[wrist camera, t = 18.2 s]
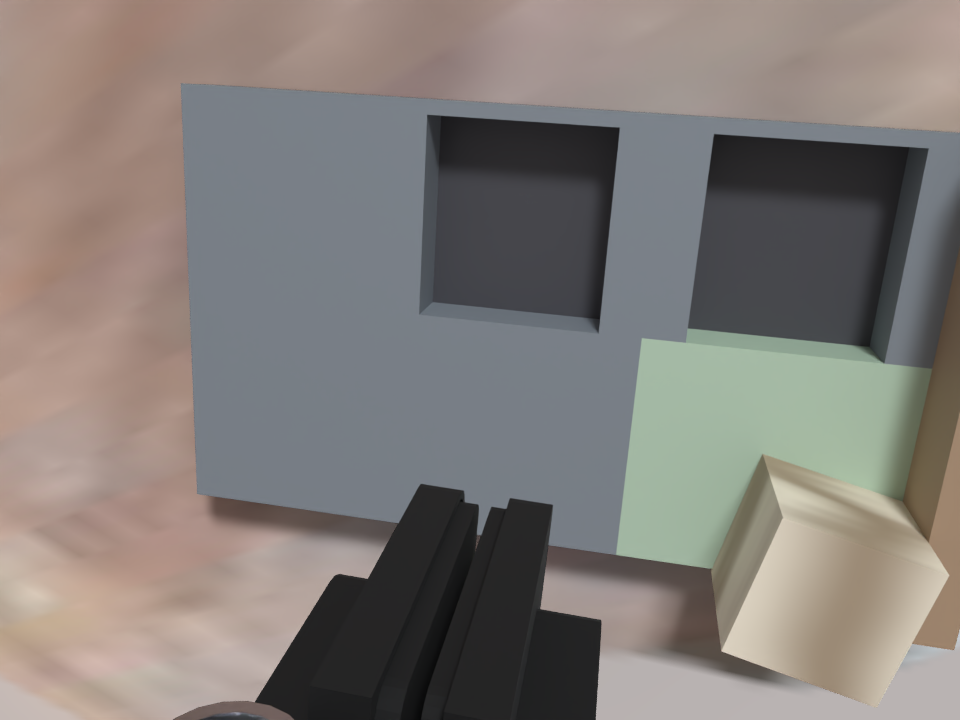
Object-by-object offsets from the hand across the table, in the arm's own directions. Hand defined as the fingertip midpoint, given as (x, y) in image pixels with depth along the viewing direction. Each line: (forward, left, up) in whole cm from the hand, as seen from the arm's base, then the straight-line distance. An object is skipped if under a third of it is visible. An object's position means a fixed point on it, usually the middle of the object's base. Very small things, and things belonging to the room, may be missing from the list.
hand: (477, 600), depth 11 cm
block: (+9, -9, -20) cm, 24 cm away
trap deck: (-1, -2, -23) cm, 23 cm away
